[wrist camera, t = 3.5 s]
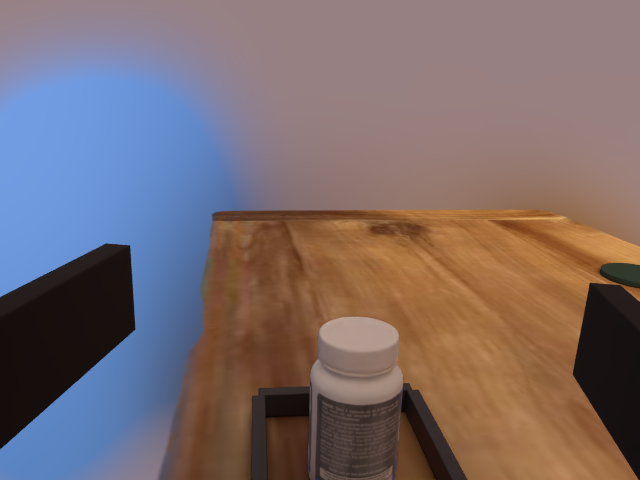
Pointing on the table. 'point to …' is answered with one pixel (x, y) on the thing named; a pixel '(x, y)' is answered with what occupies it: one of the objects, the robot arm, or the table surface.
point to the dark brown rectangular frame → (298, 403)
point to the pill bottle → (355, 401)
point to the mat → (622, 273)
